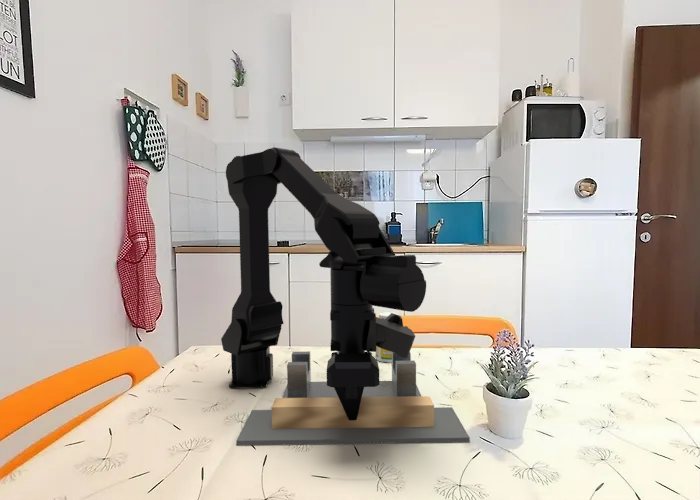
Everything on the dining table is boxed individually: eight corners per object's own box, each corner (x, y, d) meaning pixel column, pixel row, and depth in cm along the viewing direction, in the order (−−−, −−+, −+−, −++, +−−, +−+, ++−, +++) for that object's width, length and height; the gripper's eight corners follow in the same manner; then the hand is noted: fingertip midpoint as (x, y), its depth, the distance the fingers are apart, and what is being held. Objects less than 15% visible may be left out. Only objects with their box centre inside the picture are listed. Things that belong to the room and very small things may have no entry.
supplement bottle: (370, 358, 88) (370, 313, 88) (388, 353, 92) (388, 310, 91) (388, 365, 84) (388, 317, 84) (406, 359, 88) (406, 314, 87)
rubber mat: (236, 445, 54) (236, 440, 54) (252, 413, 63) (252, 409, 63) (469, 442, 54) (469, 437, 54) (452, 411, 63) (452, 407, 63)
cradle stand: (280, 407, 65) (280, 366, 64) (288, 387, 73) (287, 350, 72) (423, 405, 65) (423, 364, 65) (414, 386, 73) (414, 349, 73)
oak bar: (271, 428, 57) (271, 407, 57) (275, 418, 60) (275, 398, 60) (434, 426, 57) (434, 405, 57) (429, 416, 60) (429, 396, 60)
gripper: (422, 315, 48) (422, 447, 49) (401, 290, 67) (401, 386, 68) (325, 316, 48) (327, 449, 49) (331, 291, 67) (332, 387, 68)
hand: (352, 412), depth 58 cm, fingers open, 4 cm apart
